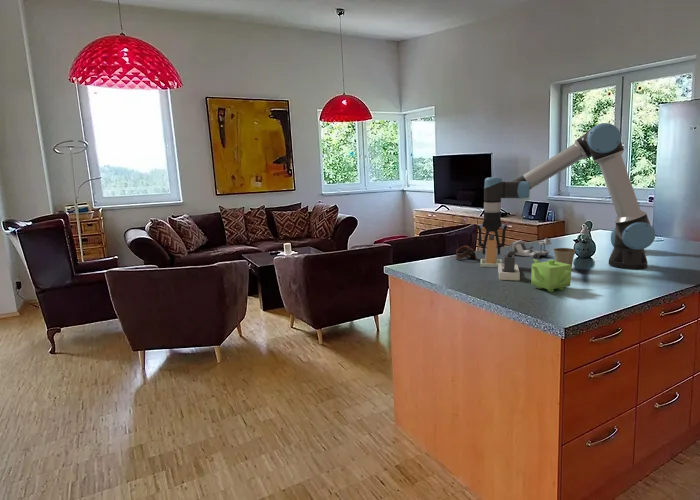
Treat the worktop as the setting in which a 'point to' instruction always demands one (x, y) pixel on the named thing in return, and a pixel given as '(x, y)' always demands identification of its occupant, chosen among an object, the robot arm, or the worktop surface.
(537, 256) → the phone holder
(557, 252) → the flower pot
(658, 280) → the worktop surface
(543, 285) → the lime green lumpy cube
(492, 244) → the plug
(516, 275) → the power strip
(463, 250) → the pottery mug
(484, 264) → the tray
